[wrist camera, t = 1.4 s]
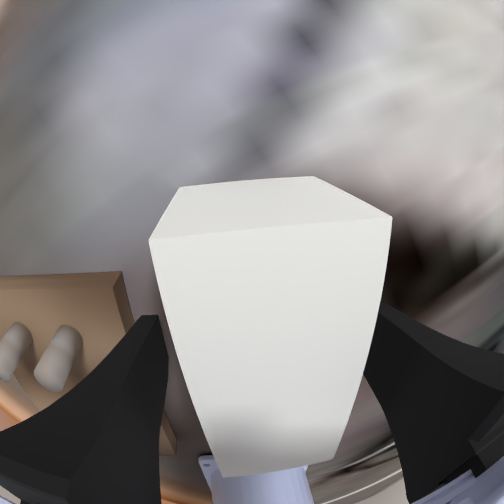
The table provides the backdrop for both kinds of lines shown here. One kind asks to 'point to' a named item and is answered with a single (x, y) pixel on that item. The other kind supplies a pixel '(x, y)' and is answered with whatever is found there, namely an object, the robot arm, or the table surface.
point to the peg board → (63, 333)
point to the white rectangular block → (271, 313)
